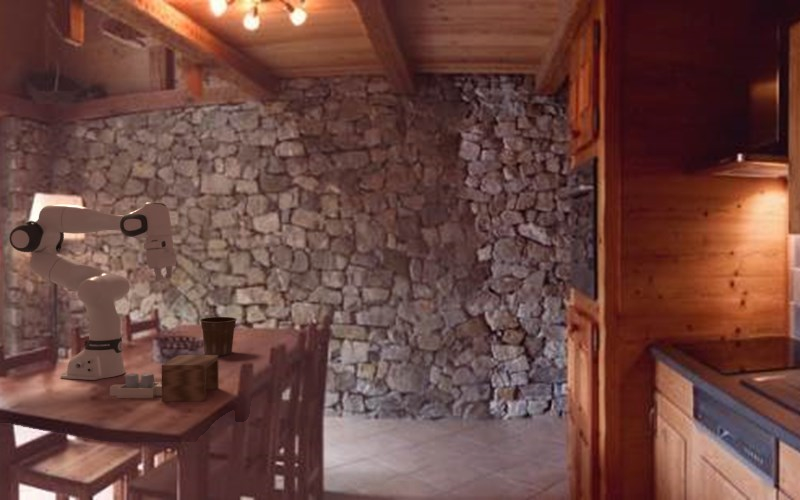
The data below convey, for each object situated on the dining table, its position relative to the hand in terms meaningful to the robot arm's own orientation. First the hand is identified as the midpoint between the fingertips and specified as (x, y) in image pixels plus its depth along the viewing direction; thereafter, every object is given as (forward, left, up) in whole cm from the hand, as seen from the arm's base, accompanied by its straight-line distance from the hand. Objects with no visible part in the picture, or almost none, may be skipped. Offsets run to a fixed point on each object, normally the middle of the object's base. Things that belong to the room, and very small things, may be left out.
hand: (164, 279), depth 220 cm
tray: (+1, -26, -38) cm, 46 cm away
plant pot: (+9, +42, -38) cm, 57 cm away
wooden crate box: (+19, -26, -38) cm, 50 cm away
